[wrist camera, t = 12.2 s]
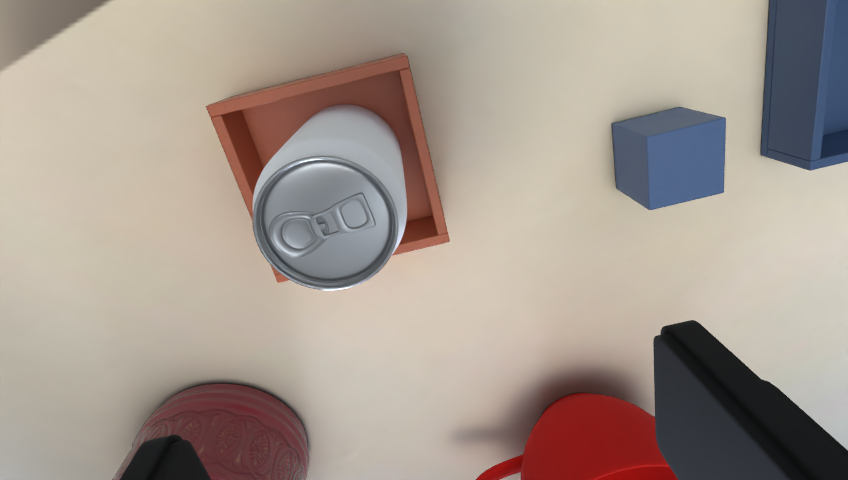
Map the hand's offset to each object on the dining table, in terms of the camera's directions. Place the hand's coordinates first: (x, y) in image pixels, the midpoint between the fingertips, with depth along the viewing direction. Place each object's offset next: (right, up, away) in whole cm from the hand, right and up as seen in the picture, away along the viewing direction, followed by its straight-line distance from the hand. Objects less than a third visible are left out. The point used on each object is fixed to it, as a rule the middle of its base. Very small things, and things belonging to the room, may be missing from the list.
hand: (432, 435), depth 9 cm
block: (+15, +10, +22) cm, 28 cm away
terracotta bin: (-5, +9, +21) cm, 23 cm away
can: (-5, +9, +20) cm, 23 cm away
